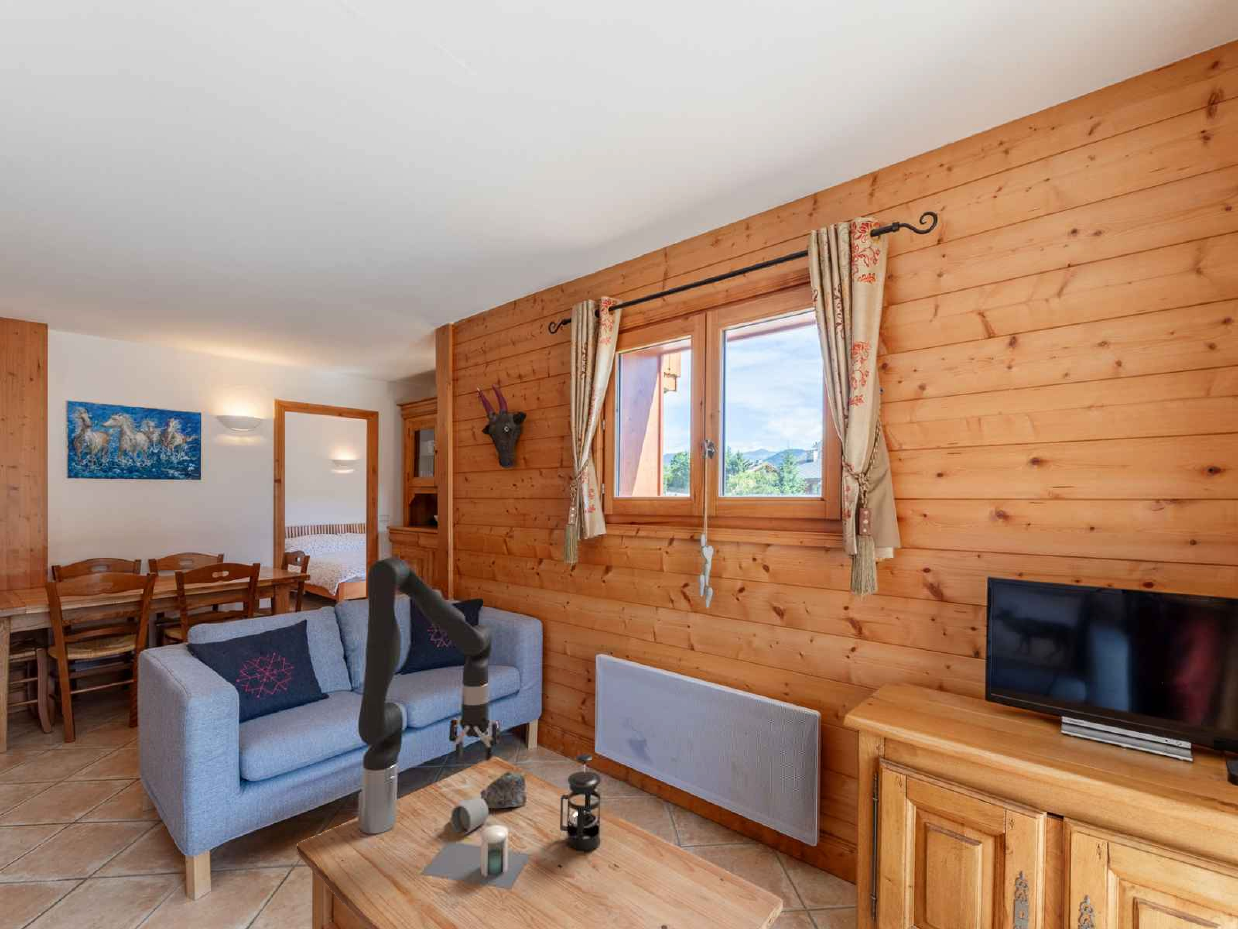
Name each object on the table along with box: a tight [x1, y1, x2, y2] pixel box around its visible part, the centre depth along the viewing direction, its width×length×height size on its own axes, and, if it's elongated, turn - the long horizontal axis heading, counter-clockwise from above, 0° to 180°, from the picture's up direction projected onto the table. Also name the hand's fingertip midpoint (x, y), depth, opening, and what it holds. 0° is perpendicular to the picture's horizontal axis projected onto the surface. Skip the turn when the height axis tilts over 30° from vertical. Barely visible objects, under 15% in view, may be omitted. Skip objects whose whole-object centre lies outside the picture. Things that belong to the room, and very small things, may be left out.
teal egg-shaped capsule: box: [487, 850, 503, 874], centre depth 150 cm, size 4×4×4 cm
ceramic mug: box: [449, 796, 489, 836], centre depth 169 cm, size 11×8×8 cm
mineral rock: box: [479, 770, 527, 809], centre depth 181 cm, size 13×11×10 cm
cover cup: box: [480, 824, 509, 877], centre depth 150 cm, size 6×6×9 cm
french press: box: [559, 753, 602, 853], centre depth 163 cm, size 12×9×23 cm
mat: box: [419, 840, 532, 890], centre depth 152 cm, size 24×14×1 cm, turn 78°
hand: (474, 758), depth 167 cm, fingers open, 8 cm apart
